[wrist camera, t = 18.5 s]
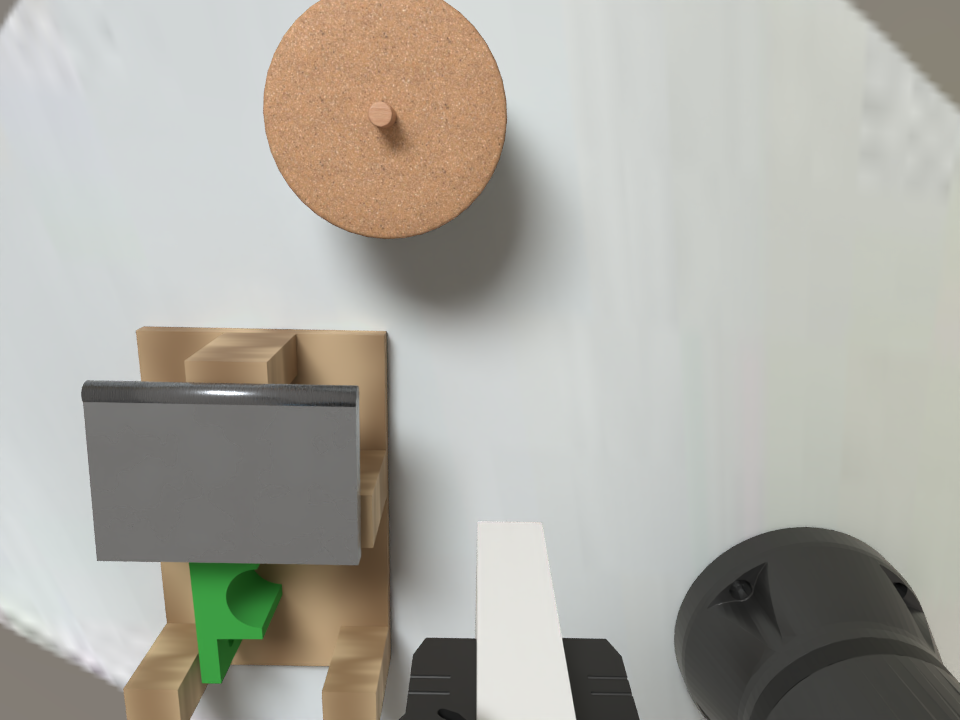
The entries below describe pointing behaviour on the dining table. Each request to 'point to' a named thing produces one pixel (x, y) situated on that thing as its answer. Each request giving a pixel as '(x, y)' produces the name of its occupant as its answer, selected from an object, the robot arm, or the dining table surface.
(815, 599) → the robot arm
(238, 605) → the pipe clamp
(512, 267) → the dining table surface
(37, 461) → the dining table surface
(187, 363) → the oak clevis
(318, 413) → the plate
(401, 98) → the lidded jar
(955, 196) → the dining table surface
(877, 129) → the dining table surface
